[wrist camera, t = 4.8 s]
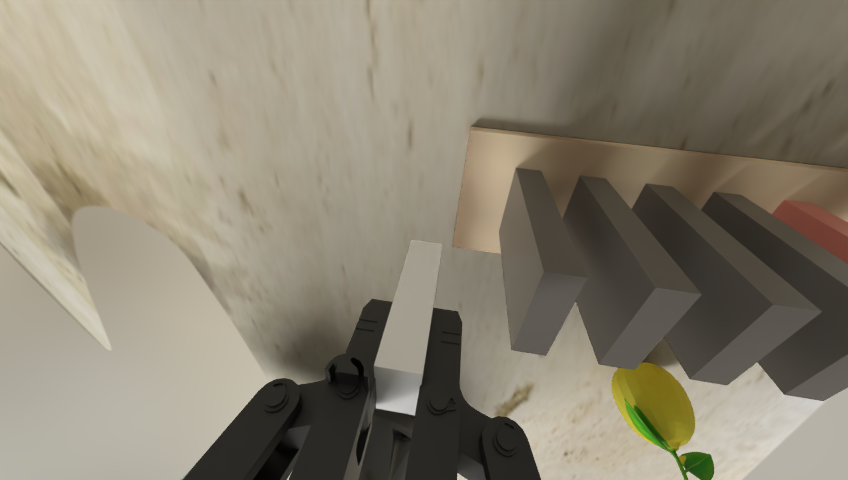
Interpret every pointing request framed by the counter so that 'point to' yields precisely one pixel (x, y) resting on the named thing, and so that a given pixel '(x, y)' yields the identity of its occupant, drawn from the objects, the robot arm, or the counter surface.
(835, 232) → the domino
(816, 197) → the board
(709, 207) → the domino
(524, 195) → the domino
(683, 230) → the domino
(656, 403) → the lemon
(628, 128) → the counter surface
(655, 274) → the domino
